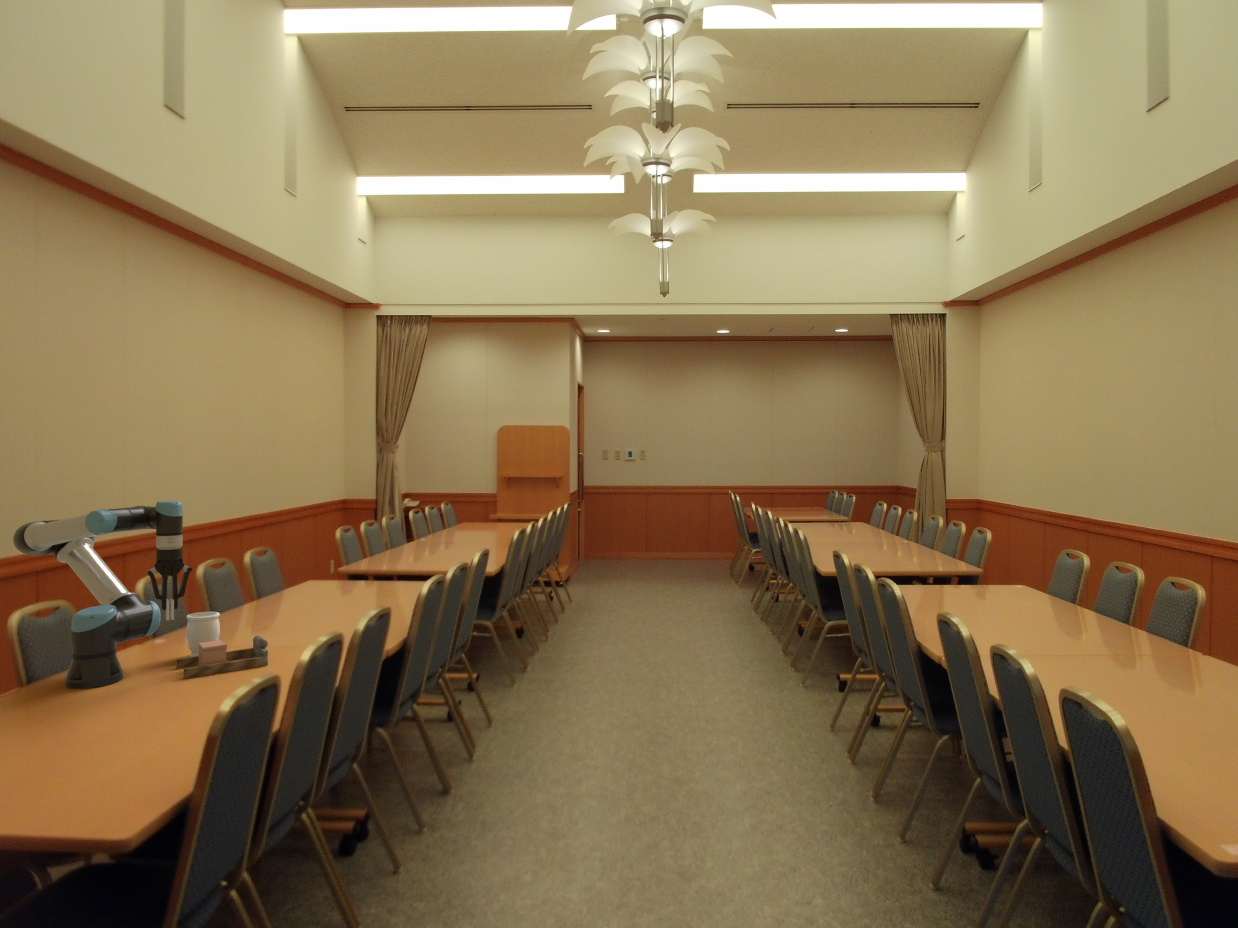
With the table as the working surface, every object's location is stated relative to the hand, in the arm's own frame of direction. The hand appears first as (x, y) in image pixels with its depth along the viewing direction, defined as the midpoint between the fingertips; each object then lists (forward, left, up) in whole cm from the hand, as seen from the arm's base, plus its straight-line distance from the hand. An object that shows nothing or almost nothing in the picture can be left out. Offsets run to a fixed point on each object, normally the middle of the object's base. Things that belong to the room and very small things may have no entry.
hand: (169, 619), depth 245 cm
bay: (+16, 0, -18) cm, 24 cm away
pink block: (+13, 0, -18) cm, 22 cm away
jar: (+13, +19, -19) cm, 30 cm away
